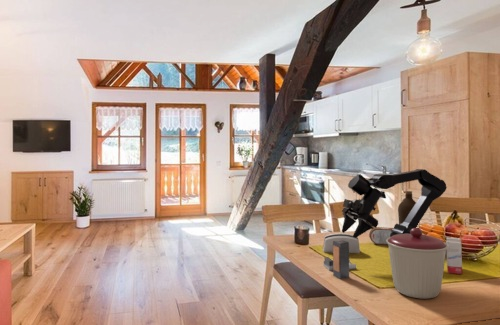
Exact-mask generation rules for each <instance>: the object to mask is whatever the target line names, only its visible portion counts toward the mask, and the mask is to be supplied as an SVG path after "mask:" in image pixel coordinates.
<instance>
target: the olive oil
mask: <svg viewBox="0 0 500 325" xmlns="http://www.w3.org/2000/svg"><path fill="white" fill-rule="evenodd" d="M416 202H417V201H415V200H414V198H413V191H412V190H405V198H404V199H403V200H402V201H401V202H400V203H399V204H398V207H397V214H398V224H402V223H403V222H404V221H405V219H406V218H407V216H408V215H409V213H410V212H411V210H412V209H413V207H414V205H415V204H416Z"/></svg>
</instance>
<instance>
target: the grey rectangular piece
mask: <svg viewBox="0 0 500 325" xmlns="http://www.w3.org/2000/svg"><path fill="white" fill-rule="evenodd" d="M350 260H351V259H349V270H356V269H357V264H356V263H352V262H351V261H350ZM323 266H324V267H325V268H326V269H327V270H328V271H329V272H331V271H333V259H331V258H330V257H329V256H324V260H323Z"/></svg>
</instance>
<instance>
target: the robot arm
mask: <svg viewBox="0 0 500 325" xmlns="http://www.w3.org/2000/svg"><path fill="white" fill-rule="evenodd" d="M414 181H418V183H419V184H420V185H421V190H420V192H421V195H420V196H419V198H418V200H417V201H415V202H416V204H415V205H414V207H413V209H412V210H411V212H410V213H409V215H408V216H407V218H406V219H405V221H404V222H403V223H402V224H399V223H396V224H394V226H393V227H392V228H393V229H392V230H391V234H390V237H391V236H393V235H397V234H410V230H411V229H412V228H416V227H417V225H418V223H419V224H420V222H421V221H422V220H423V217H424V216H425V214H426V213H427V211H428V210H429V208H430V206H431V205H432V203H433V202H434V201H435V200H436V199H437V200H438V199H439V198H440V197H441V196H443V194H444V193H445V192H446V190H447V183H446V182H445V180H443V179H441V178H439V177H438V176H435V175H434V174H432V173H430V172H429V171H428V170H426V169H425V168H423V169H422V168H421V169H420V168H416V169H414V170H408V171H403V172H398V173H391V174H388V173H386V174H384V173H376V174H373V175H372V177H371V178H365V177H364V176H363V175H362V174H360V173H357V174H356V175H355V176H354V177H353V178H352V179H350V180H349V182H348V184H347V187H348V188H349V189H350V190H352V191H354V192H355V193H356V194H357V195H359V196H362V197H361V199H359V198H358V199H356V198H353V200H350V199H347V198H344V199H343V200H344V201H343V204H342V207H343V208H342V210H341V213H342V215H343V218H344V219H343V224H342V227H341V228H342V229H341V233H346V232H347V231H348V230H349V229H350V228H351V227H352V226H353V225H355V223H357V222H358V225H357V226H356V228H355V231H354V233H353V234H352V235H353V237H354V238H356V237H358V238H359V237H360V236H361V235H363V234H365V233H366V232H368V231H371V230H372V229H373V228H376V227H378V225H379V220H378V219H377V218H375V217H374V216H372V215H371V213H372V212H373V211H376V209H377V208H376V205H377V203H378V202H379V200H380V198H382V199H387V196H386V192H385V191H384V190H388V189H391V188H393V187H394V186H396V185H399V184H402V183H407V182H414ZM379 189H381V190H379Z"/></svg>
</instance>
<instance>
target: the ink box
mask: <svg viewBox="0 0 500 325" xmlns="http://www.w3.org/2000/svg"><path fill="white" fill-rule="evenodd" d="M461 240H462V239H461V238H459V237H458V238H457V237H446V242H445V243H447V244H448V246H449V247H448V249H446V269H447V273H448V274H456V275H457V274H458V275H463V259H462V258H463V257H462V254H463V252H462V241H461Z"/></svg>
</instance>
